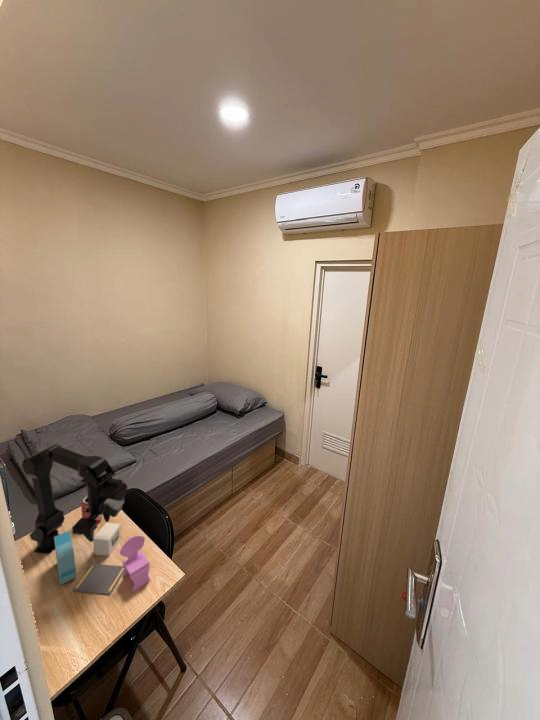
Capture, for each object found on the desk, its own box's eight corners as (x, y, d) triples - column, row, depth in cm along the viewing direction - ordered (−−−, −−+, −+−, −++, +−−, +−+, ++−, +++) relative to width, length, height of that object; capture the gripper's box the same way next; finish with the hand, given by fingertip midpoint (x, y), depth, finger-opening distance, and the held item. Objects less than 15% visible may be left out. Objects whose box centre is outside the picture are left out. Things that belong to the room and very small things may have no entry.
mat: (72, 591, 95) (72, 590, 95) (92, 564, 105) (92, 563, 105) (110, 594, 94) (110, 593, 94) (126, 567, 104) (126, 566, 104)
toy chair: (129, 596, 94) (126, 558, 91) (119, 578, 100) (116, 541, 97) (153, 579, 100) (152, 543, 97) (143, 563, 106) (141, 528, 103)
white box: (94, 554, 109) (92, 538, 107) (107, 537, 117) (105, 522, 115) (110, 555, 108) (109, 540, 107) (122, 538, 116) (121, 524, 115)
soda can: (100, 514, 129) (98, 490, 126) (104, 523, 124) (102, 499, 121) (81, 521, 124) (79, 497, 122) (85, 531, 119) (82, 506, 117)
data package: (76, 579, 99) (73, 550, 97) (60, 587, 96) (57, 557, 94) (71, 556, 108) (68, 528, 105) (57, 562, 105) (53, 534, 102)
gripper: (103, 514, 91) (105, 555, 95) (132, 479, 110) (134, 514, 113) (69, 511, 92) (73, 552, 95) (104, 476, 110) (106, 511, 113)
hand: (99, 530), depth 104 cm, fingers open, 9 cm apart
